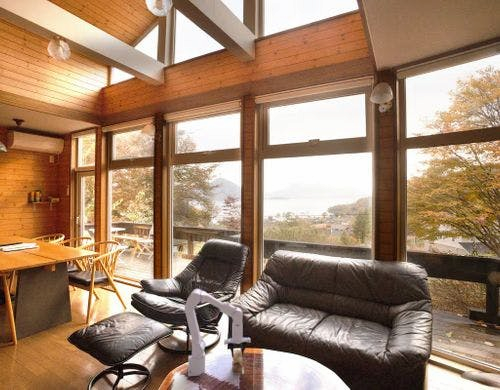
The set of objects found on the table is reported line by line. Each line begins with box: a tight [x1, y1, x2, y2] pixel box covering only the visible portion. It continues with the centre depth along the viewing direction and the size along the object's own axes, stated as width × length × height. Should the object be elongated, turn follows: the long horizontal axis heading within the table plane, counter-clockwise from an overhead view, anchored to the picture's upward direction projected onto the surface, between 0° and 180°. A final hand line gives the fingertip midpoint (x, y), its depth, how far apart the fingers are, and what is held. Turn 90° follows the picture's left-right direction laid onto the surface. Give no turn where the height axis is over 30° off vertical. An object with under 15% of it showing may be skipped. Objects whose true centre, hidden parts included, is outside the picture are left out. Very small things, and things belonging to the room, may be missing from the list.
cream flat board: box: [229, 366, 245, 375], centre depth 165 cm, size 11×8×1 cm
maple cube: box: [232, 349, 243, 362], centre depth 165 cm, size 4×4×4 cm
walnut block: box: [231, 360, 243, 373], centre depth 165 cm, size 5×5×4 cm
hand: (237, 356), depth 165 cm, fingers closed on maple cube, 4 cm apart
